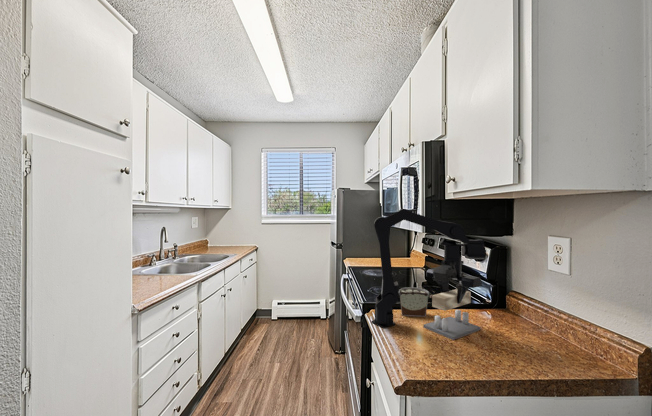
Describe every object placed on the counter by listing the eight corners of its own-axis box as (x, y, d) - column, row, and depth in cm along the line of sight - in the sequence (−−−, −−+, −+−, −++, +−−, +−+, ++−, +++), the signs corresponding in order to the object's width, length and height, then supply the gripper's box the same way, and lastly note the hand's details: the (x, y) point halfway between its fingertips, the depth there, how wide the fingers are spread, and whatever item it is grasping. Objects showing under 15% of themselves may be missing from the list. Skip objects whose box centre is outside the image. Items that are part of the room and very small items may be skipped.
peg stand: (423, 327, 108) (423, 313, 108) (450, 318, 117) (450, 306, 117) (453, 340, 98) (453, 324, 98) (480, 329, 107) (480, 315, 107)
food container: (426, 311, 125) (426, 287, 125) (429, 316, 119) (430, 291, 119) (395, 310, 126) (396, 286, 126) (398, 315, 120) (398, 290, 120)
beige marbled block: (457, 299, 114) (458, 288, 114) (470, 302, 110) (470, 291, 110) (432, 306, 105) (432, 295, 105) (445, 310, 101) (445, 298, 101)
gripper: (416, 255, 111) (416, 297, 111) (463, 264, 95) (462, 313, 95) (436, 253, 117) (435, 293, 117) (483, 261, 101) (482, 307, 101)
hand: (451, 301), depth 108 cm, fingers closed on beige marbled block, 5 cm apart
